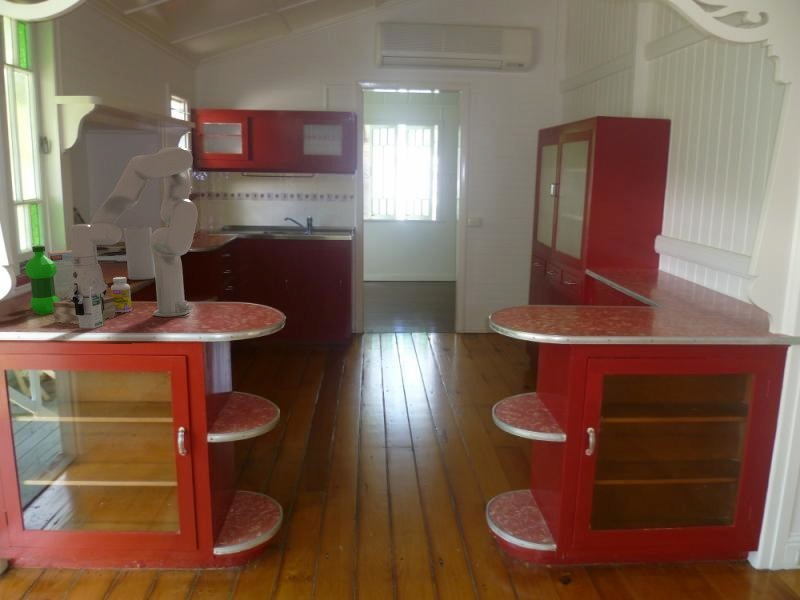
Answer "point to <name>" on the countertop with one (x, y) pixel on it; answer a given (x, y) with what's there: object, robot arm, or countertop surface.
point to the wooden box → (66, 313)
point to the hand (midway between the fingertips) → (90, 312)
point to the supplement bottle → (121, 295)
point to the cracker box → (62, 273)
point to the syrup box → (92, 311)
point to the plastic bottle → (41, 281)
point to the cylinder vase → (139, 253)
